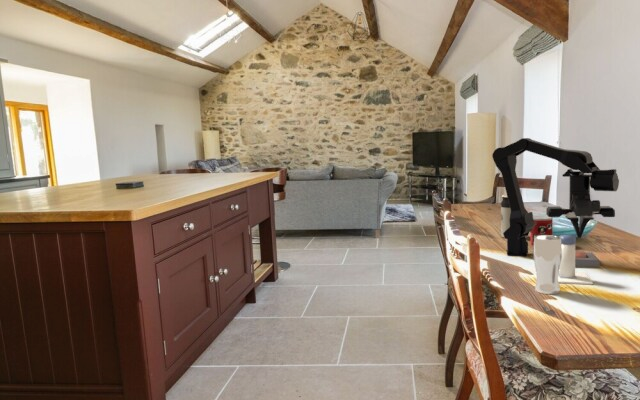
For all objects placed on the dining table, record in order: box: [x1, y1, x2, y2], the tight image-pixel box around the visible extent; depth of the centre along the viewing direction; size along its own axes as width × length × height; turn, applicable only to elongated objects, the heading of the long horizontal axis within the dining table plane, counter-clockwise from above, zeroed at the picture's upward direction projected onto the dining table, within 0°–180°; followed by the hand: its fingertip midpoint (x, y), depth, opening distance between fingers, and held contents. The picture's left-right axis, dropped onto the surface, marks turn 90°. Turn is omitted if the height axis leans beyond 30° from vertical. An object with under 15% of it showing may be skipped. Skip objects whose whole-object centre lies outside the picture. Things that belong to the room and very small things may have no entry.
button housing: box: [575, 251, 600, 269], centre depth 147 cm, size 10×10×2 cm
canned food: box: [530, 215, 554, 247], centre depth 173 cm, size 8×8×11 cm
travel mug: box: [500, 194, 511, 239], centre depth 189 cm, size 8×8×18 cm
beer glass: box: [532, 234, 562, 295], centre depth 122 cm, size 7×7×15 cm
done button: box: [575, 250, 587, 258], centre depth 147 cm, size 4×4×3 cm
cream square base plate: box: [558, 270, 594, 286], centre depth 132 cm, size 11×11×1 cm
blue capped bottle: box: [559, 234, 577, 278], centre depth 132 cm, size 4×4×12 cm
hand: (579, 237), depth 146 cm, fingers closed
